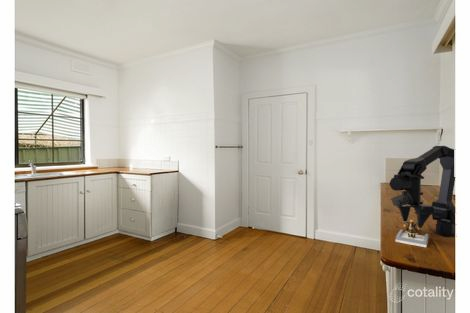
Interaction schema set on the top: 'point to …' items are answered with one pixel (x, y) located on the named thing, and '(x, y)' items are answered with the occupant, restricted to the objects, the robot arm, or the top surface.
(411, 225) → the figurine
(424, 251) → the top surface
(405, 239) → the tray
